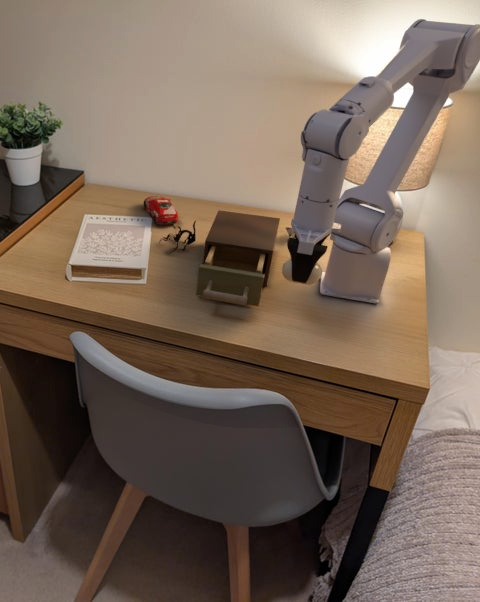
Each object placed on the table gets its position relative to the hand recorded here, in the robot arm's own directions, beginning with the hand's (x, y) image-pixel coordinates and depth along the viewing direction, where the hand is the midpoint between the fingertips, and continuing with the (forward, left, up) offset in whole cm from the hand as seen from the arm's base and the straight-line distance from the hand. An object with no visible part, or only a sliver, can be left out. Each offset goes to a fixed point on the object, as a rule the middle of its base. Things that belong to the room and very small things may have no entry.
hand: (301, 274), depth 91 cm
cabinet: (+11, -15, -8) cm, 20 cm away
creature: (+24, -18, -8) cm, 31 cm away
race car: (+31, -32, -8) cm, 45 cm away
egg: (0, 0, -1) cm, 1 cm away
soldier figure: (-1, -32, -8) cm, 33 cm away
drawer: (+11, -3, -7) cm, 13 cm away
